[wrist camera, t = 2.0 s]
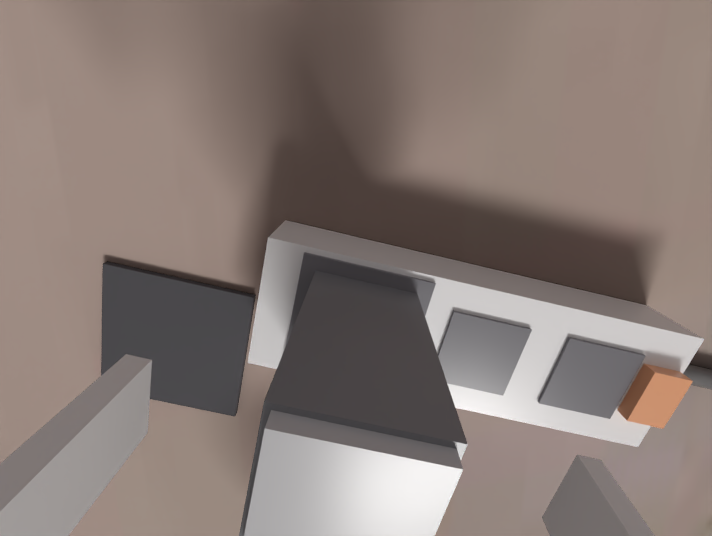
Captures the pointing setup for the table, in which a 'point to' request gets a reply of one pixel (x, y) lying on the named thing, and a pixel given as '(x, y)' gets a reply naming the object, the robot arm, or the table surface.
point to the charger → (355, 421)
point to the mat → (178, 335)
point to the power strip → (501, 335)
